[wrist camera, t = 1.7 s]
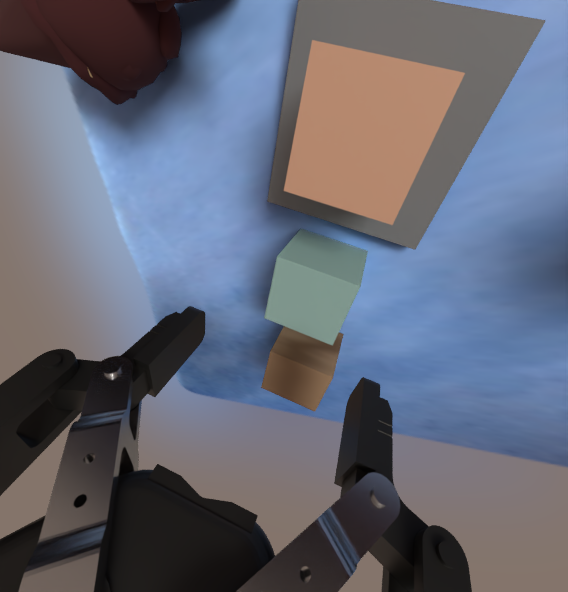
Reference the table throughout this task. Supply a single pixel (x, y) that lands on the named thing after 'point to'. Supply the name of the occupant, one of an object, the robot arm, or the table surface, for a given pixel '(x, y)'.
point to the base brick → (365, 128)
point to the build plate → (417, 48)
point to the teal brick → (315, 285)
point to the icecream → (96, 39)
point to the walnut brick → (301, 367)
